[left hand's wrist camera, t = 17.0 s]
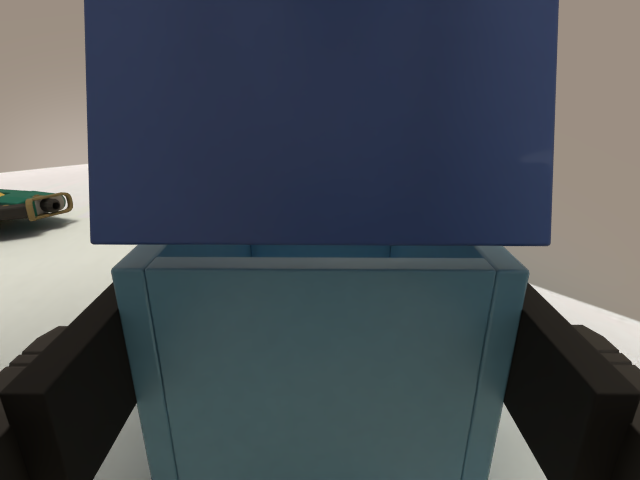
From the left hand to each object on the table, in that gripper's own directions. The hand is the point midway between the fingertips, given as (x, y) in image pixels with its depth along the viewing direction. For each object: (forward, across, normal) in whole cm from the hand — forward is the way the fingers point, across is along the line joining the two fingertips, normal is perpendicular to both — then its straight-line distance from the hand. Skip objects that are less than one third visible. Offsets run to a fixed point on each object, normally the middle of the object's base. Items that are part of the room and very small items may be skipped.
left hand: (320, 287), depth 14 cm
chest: (+3, 0, -6) cm, 7 cm away
